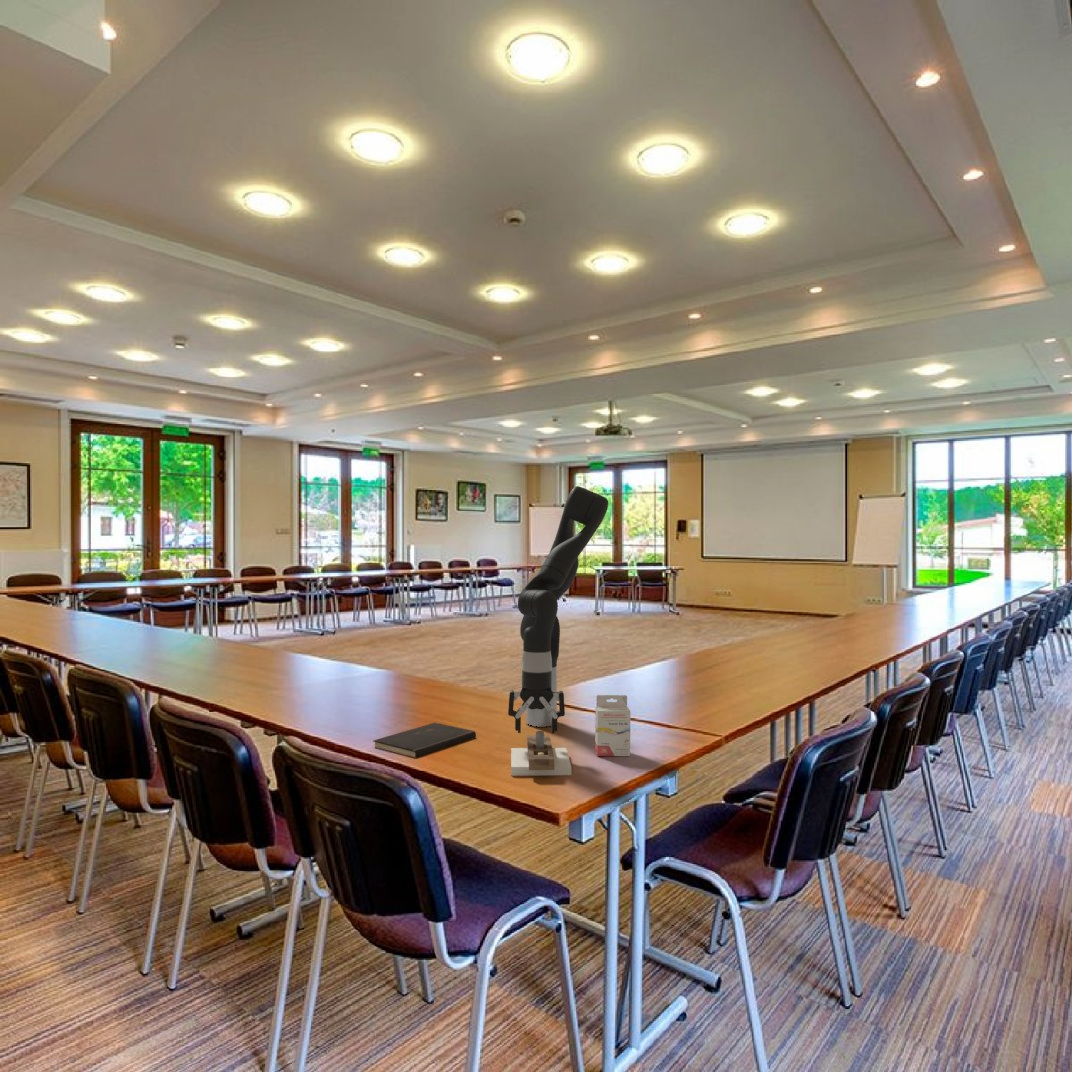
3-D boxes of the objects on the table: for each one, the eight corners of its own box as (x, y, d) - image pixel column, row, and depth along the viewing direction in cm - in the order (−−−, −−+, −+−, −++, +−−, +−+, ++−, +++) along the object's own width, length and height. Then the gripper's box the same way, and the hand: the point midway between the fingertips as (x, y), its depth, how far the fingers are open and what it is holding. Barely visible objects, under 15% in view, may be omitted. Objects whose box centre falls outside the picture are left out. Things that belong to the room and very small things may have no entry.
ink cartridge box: (597, 757, 175) (597, 698, 176) (594, 751, 180) (594, 694, 180) (630, 757, 176) (630, 698, 176) (627, 751, 181) (627, 694, 181)
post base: (511, 756, 176) (511, 724, 176) (566, 755, 177) (566, 724, 177) (511, 775, 161) (511, 741, 161) (571, 775, 162) (571, 740, 162)
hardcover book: (373, 749, 184) (373, 740, 184) (434, 730, 202) (434, 722, 202) (415, 760, 174) (415, 751, 174) (476, 739, 193) (476, 731, 193)
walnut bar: (527, 745, 179) (527, 735, 179) (549, 744, 179) (549, 735, 179) (529, 770, 159) (529, 759, 159) (554, 770, 159) (554, 759, 159)
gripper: (508, 671, 172) (507, 736, 172) (565, 671, 172) (565, 737, 172) (509, 665, 179) (508, 728, 179) (564, 666, 179) (563, 728, 179)
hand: (536, 732), depth 176 cm, fingers open, 8 cm apart
